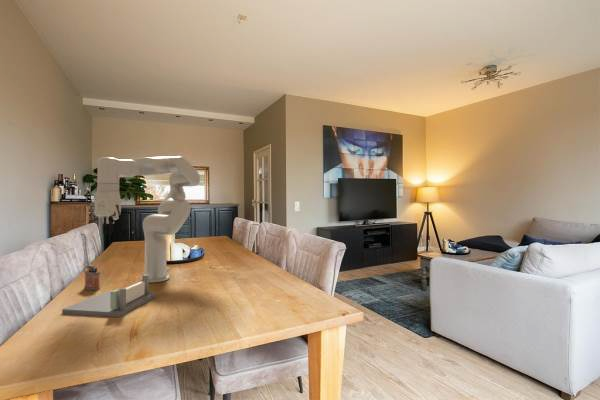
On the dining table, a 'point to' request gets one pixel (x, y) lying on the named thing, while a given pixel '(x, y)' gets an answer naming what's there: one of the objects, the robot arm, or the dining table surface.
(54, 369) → the dining table surface
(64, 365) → the dining table surface
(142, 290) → the pale rectangular block
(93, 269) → the lighter
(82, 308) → the base
